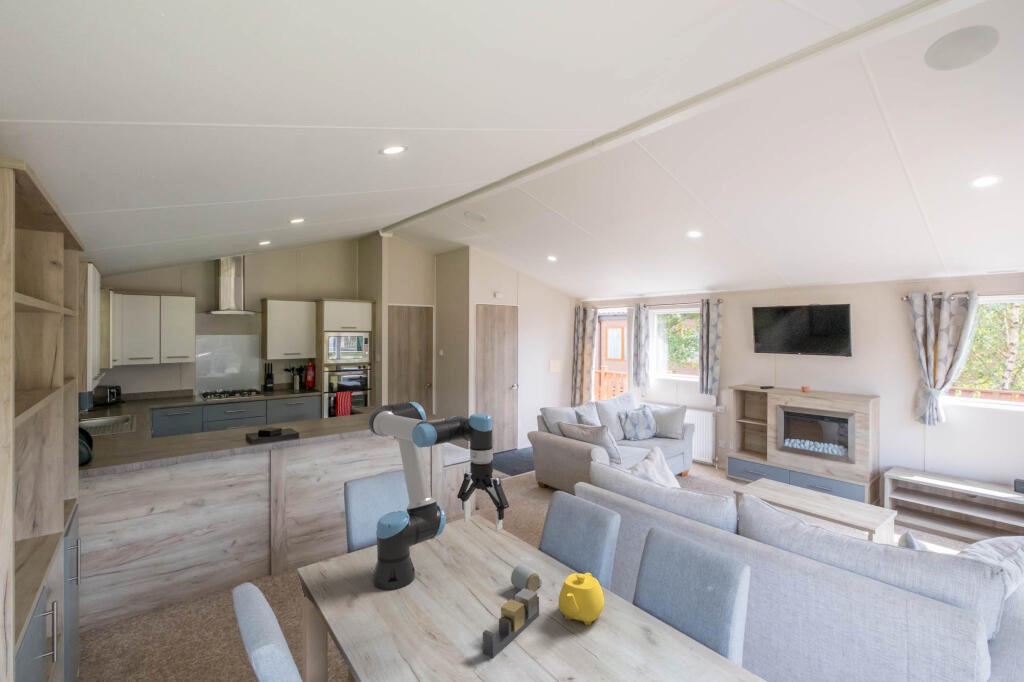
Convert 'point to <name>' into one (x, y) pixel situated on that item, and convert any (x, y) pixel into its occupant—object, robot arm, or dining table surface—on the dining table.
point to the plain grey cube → (528, 601)
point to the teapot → (581, 598)
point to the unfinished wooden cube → (513, 614)
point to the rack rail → (504, 634)
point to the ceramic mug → (525, 578)
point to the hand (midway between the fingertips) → (482, 524)
